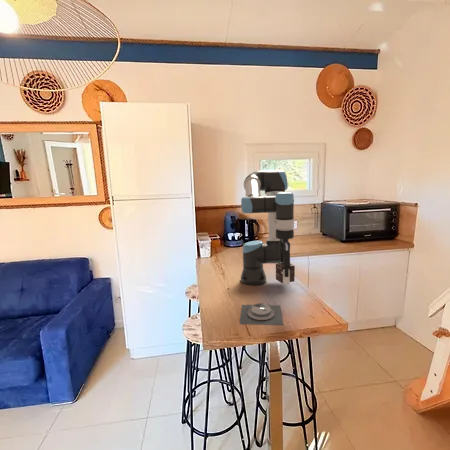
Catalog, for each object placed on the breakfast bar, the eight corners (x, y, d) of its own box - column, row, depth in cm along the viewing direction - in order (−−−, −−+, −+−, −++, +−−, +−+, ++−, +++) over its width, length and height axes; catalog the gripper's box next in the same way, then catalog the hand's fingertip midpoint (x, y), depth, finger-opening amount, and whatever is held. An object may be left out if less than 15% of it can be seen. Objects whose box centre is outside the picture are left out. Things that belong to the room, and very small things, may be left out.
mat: (241, 305, 132) (241, 304, 132) (280, 306, 130) (280, 305, 130) (239, 325, 114) (239, 324, 114) (283, 326, 112) (283, 325, 112)
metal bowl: (247, 307, 128) (247, 301, 128) (274, 308, 127) (274, 301, 126) (246, 320, 117) (246, 314, 116) (275, 321, 115) (275, 314, 115)
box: (275, 279, 123) (275, 263, 122) (286, 277, 125) (286, 261, 124) (283, 284, 117) (283, 267, 116) (295, 281, 120) (294, 265, 118)
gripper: (273, 225, 128) (274, 272, 132) (278, 233, 108) (278, 289, 111) (290, 224, 127) (290, 271, 131) (297, 233, 107) (297, 289, 111)
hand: (284, 279), depth 121 cm, fingers closed on box, 8 cm apart
